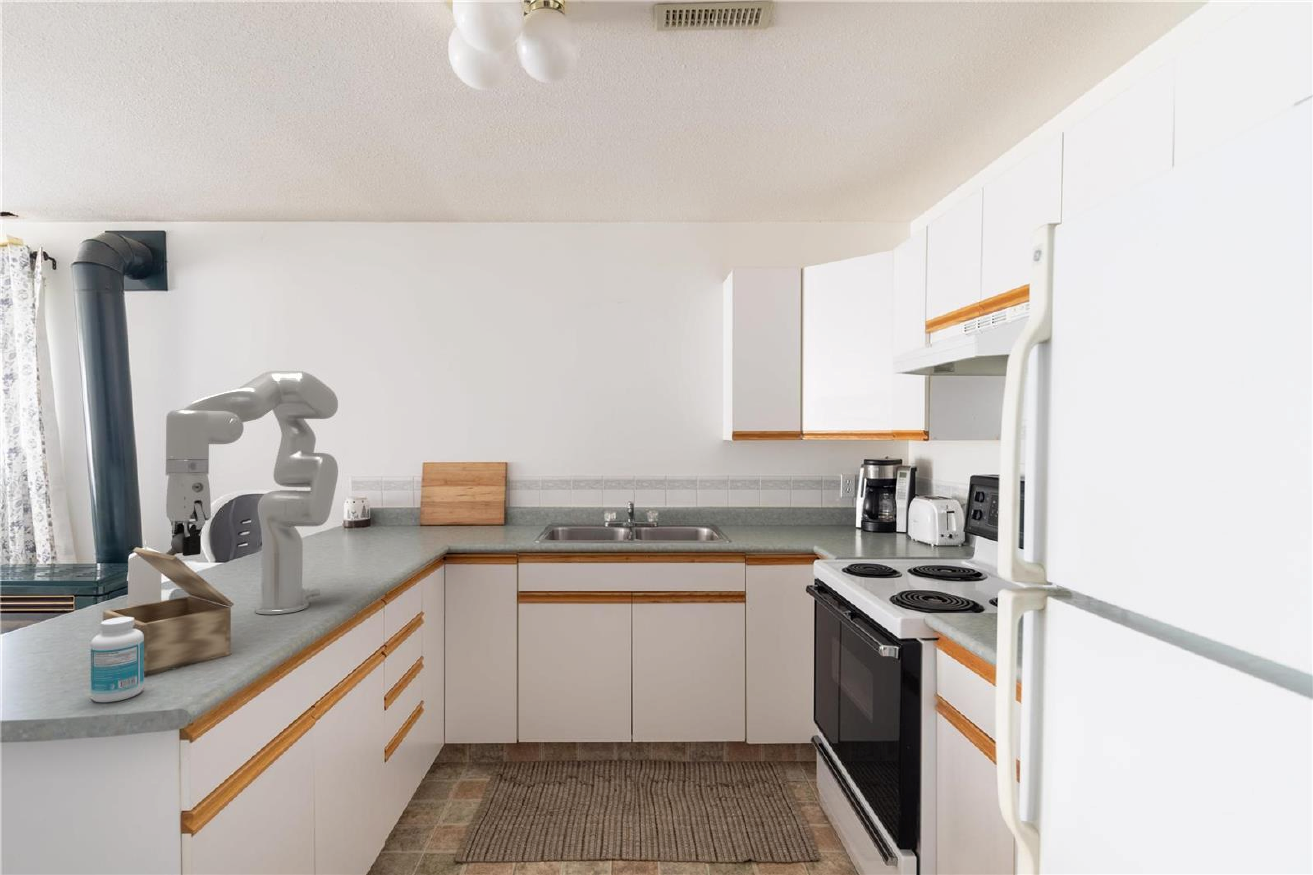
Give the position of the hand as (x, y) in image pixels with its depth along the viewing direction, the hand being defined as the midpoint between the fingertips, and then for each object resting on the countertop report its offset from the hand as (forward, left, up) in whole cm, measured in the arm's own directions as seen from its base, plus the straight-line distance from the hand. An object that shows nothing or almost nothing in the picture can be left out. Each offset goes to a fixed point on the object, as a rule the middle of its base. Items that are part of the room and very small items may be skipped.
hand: (186, 553), depth 142 cm
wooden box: (+3, 0, -21) cm, 22 cm away
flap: (+1, 0, -5) cm, 5 cm away
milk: (0, -19, -21) cm, 29 cm away
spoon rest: (-14, -40, -22) cm, 48 cm away
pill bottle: (+17, +16, -21) cm, 32 cm away
